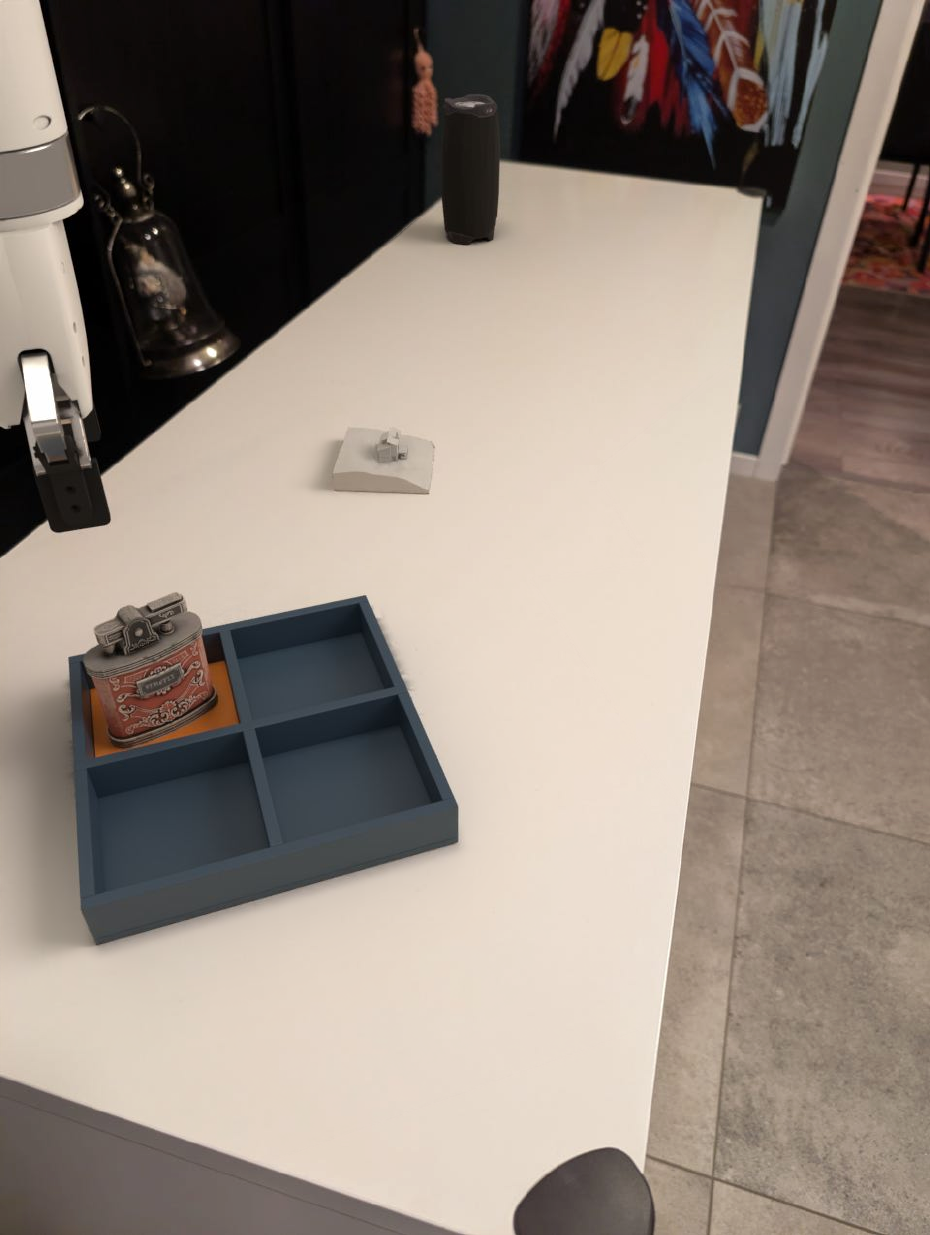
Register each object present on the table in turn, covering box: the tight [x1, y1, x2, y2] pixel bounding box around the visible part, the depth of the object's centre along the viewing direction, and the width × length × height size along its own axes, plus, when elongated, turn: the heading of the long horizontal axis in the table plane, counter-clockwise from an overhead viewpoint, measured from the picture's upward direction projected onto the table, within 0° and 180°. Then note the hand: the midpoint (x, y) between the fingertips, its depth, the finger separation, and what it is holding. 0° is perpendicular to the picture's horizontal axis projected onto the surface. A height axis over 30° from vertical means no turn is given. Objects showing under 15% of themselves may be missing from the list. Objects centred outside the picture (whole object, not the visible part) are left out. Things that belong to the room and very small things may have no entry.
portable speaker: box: [440, 93, 501, 246], centre depth 145 cm, size 9×9×20 cm
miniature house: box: [331, 426, 436, 495], centre depth 96 cm, size 12×11×4 cm
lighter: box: [83, 591, 218, 749], centre depth 66 cm, size 8×3×10 cm, turn 128°
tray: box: [67, 594, 459, 946], centre depth 66 cm, size 22×22×4 cm
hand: (78, 481), depth 57 cm, fingers open, 9 cm apart
